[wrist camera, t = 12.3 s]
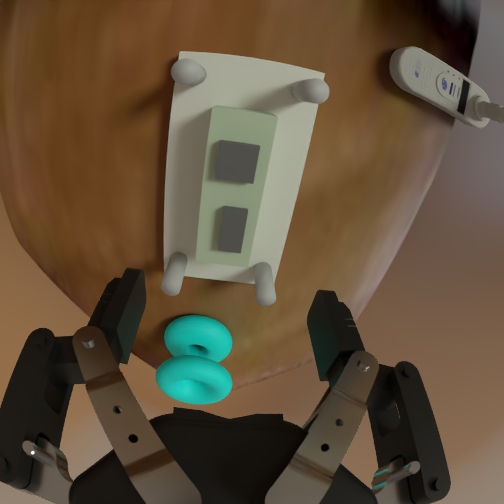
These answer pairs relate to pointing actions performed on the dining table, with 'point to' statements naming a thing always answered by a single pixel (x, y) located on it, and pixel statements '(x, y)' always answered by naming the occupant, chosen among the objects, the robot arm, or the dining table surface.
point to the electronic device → (442, 87)
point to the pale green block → (233, 183)
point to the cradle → (194, 152)
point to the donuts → (195, 360)
